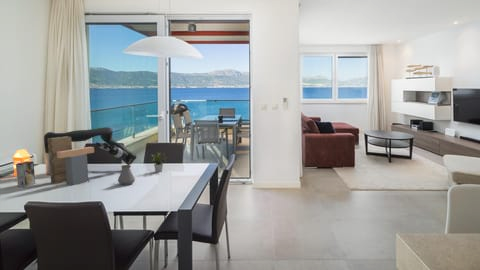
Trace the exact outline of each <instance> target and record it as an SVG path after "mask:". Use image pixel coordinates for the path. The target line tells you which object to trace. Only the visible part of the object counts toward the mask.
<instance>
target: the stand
mask: <svg viewBox="0 0 480 270" xmlns="http://www.w3.org/2000/svg"><path fill="white" fill-rule="evenodd" d="M48 150H49V163H50V175H49V176H50V183H51V184H54V185H57V184H61V183H67V174H66V160H65V158H57V152H60V151H67V150H73V142H72V141H71V137H67V136H65V137H57V138H48Z"/></svg>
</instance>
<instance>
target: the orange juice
mask: <svg viewBox="0 0 480 270" xmlns="http://www.w3.org/2000/svg"><path fill="white" fill-rule="evenodd" d="M12 161H13V162H12V163H13V171H14V173H13V175H14V177H17V172H16V164H18V163H22V162H31V155H30V154H29V152H28V151H27V150H26V148H23V149H19V150H16V151H15V154H14V155H13V157H12Z"/></svg>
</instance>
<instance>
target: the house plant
mask: <svg viewBox="0 0 480 270" xmlns="http://www.w3.org/2000/svg"><path fill="white" fill-rule="evenodd" d="M156 154H157V155H156ZM156 154H155V153H153V154H150V156H152V160H151V162H155V163H154V164H153V167H154V170H155V171H154V172H155V173H162V172H163V169H164V168H163V166H164V163H162V162H163V161H167V159H166V158H167V156H164V154H163V152H157V153H156ZM162 154H163V155H162Z"/></svg>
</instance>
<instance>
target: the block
mask: <svg viewBox="0 0 480 270" xmlns="http://www.w3.org/2000/svg"><path fill="white" fill-rule="evenodd" d="M93 153H95V146H87V147H81V148H74V149H73V148H72V150H67V151H60V152H57V158H65V157H71V156H77V155H83V154H87V155H88V154H89V155H90V154H93Z"/></svg>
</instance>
